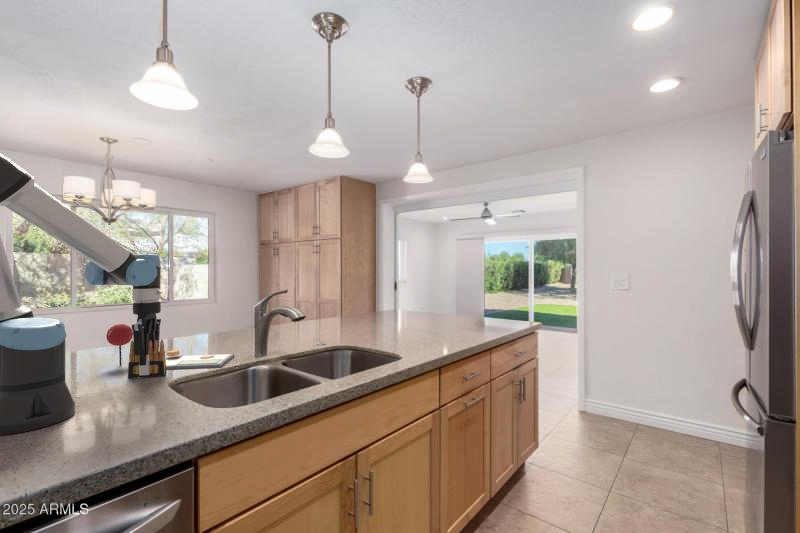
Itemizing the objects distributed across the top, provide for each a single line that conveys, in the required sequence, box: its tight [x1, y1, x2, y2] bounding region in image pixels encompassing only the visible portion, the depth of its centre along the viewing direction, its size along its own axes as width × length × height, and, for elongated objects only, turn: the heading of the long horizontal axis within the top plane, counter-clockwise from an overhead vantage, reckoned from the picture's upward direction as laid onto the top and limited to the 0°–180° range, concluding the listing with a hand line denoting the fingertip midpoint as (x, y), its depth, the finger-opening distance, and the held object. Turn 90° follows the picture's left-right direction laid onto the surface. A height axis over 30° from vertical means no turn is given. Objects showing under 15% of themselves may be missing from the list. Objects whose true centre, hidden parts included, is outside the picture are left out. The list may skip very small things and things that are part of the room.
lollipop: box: [106, 323, 133, 366], centre depth 135 cm, size 8×8×15 cm
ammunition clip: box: [127, 339, 167, 379], centre depth 121 cm, size 11×2×12 cm, turn 100°
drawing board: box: [165, 353, 235, 370], centre depth 138 cm, size 16×25×1 cm, turn 98°
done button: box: [166, 349, 180, 356], centre depth 142 cm, size 4×4×1 cm
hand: (147, 373), depth 121 cm, fingers open, 3 cm apart
